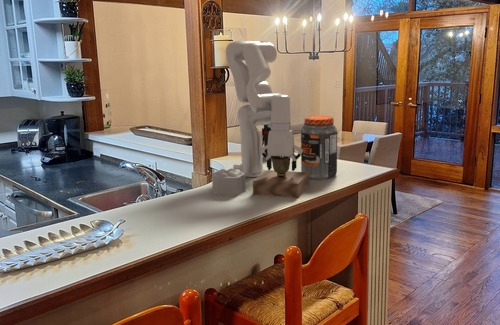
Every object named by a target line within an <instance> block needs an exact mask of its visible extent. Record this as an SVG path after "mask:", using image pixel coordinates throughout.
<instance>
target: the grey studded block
mask: <svg viewBox="0 0 500 325" xmlns="http://www.w3.org/2000/svg"><path fill="white" fill-rule="evenodd" d="M211 178H212V179H211V181H212V193H214V195H219V196H227V197H231V196H232V197H233V196H234V197H235V196H240V195H242V194H243V193H244V192H246V188H247V187H246V177H245V173H243V172H241V171H240V170H239V169H237V170H236V169H234V168H233V167H232V168H229V169H228V170H227V169H224V168H221V169H219V170H217V171H215V172H213V173H212V174H211Z"/></svg>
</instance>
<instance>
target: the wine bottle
mask: <svg viewBox="0 0 500 325" xmlns="http://www.w3.org/2000/svg"><path fill="white" fill-rule="evenodd" d="M270 130H271V128H270V127H268V125H263V128H261V136H262V147H264V146H266V145H268V135H269V131H270ZM267 149H268V148H267ZM267 149H265V150H264V151H265V153H266V154H267V155H268V151H267ZM272 158H274V156H271V159H272Z"/></svg>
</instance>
